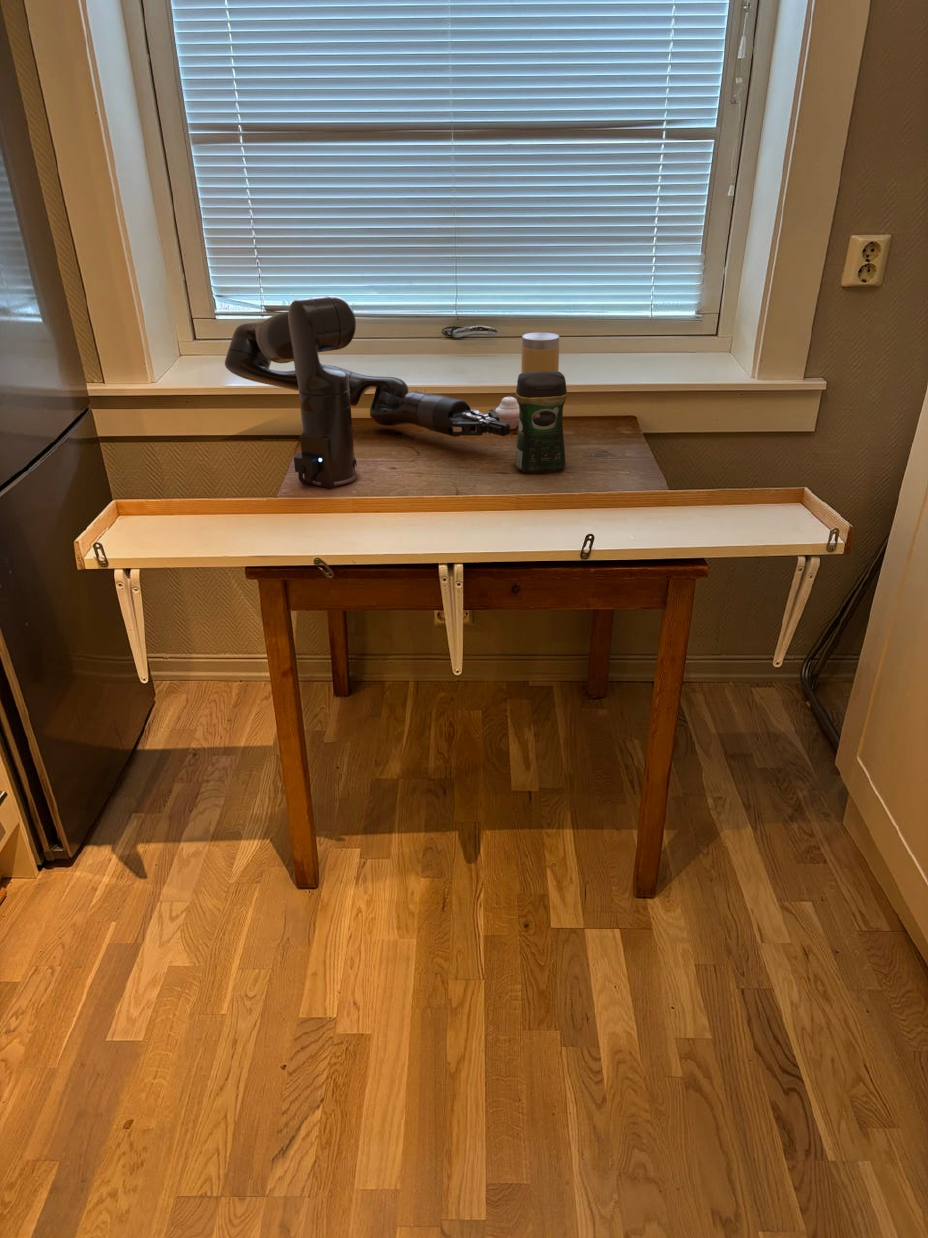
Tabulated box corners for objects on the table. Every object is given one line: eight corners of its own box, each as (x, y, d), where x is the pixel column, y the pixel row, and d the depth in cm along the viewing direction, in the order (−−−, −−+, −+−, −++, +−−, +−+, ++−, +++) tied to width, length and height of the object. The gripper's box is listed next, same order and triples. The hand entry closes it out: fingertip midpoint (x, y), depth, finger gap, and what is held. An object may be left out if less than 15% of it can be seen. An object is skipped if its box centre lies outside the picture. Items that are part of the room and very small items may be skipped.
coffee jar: (559, 459, 183) (563, 366, 174) (568, 473, 176) (572, 376, 167) (512, 462, 182) (513, 368, 173) (518, 475, 175) (519, 378, 166)
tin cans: (546, 450, 188) (549, 341, 177) (514, 445, 191) (515, 337, 181) (561, 440, 194) (565, 334, 183) (529, 435, 197) (532, 330, 186)
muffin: (494, 431, 200) (494, 399, 196) (495, 423, 205) (495, 392, 202) (522, 431, 199) (523, 399, 196) (523, 423, 205) (523, 392, 201)
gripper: (464, 425, 196) (527, 440, 186) (421, 439, 187) (485, 457, 177) (464, 390, 192) (528, 404, 182) (420, 403, 184) (485, 419, 174)
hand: (507, 430), depth 180 cm, fingers closed
